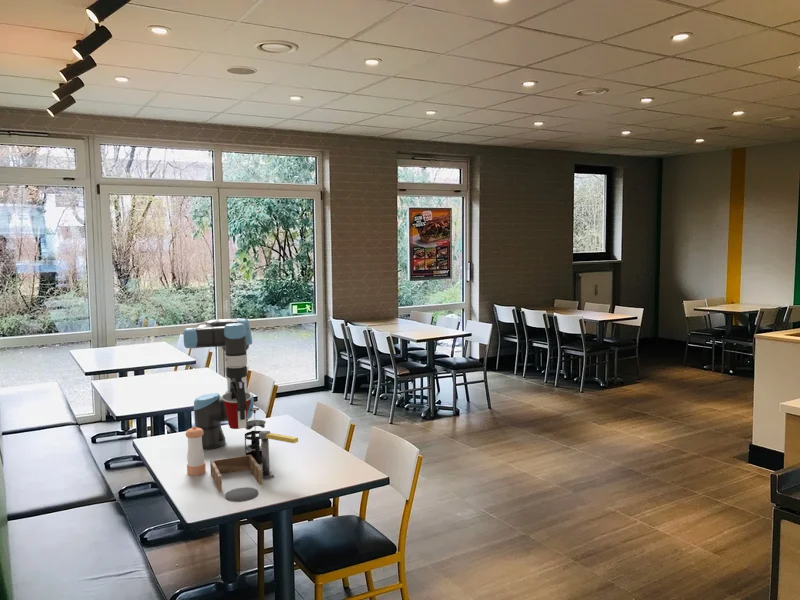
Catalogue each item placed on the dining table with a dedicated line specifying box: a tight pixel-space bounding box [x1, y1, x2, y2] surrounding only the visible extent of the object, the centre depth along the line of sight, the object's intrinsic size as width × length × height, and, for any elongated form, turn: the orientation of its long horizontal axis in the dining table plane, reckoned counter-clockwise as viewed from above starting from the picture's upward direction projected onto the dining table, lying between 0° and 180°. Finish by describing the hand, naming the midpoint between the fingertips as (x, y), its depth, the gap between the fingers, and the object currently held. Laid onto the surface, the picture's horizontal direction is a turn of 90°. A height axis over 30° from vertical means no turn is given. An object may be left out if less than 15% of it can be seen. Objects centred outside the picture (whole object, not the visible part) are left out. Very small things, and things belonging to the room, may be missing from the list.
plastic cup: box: [221, 392, 252, 430], centre depth 239 cm, size 11×11×12 cm
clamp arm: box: [258, 430, 299, 444], centre depth 253 cm, size 4×18×2 cm, turn 59°
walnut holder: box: [209, 454, 263, 493], centre depth 255 cm, size 20×16×6 cm
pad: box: [224, 486, 259, 502], centre depth 240 cm, size 12×12×1 cm
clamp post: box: [260, 439, 275, 480], centre depth 258 cm, size 5×5×16 cm
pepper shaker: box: [185, 425, 207, 476], centre depth 264 cm, size 7×7×19 cm
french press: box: [244, 407, 266, 465], centre depth 277 cm, size 12×9×23 cm
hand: (238, 423), depth 238 cm, fingers open, 13 cm apart
